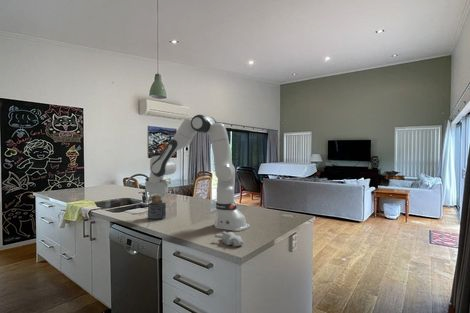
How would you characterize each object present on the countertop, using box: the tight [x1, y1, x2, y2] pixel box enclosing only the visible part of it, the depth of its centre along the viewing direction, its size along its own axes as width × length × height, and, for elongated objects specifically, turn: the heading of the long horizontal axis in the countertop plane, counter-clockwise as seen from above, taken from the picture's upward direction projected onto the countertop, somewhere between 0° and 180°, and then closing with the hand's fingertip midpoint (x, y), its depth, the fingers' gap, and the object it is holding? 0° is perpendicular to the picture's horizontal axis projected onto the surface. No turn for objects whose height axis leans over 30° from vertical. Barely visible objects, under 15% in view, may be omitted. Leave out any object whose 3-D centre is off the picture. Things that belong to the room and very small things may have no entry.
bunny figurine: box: [214, 230, 244, 248], centre depth 135 cm, size 10×5×15 cm
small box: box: [147, 202, 167, 221], centre depth 183 cm, size 11×6×10 cm, turn 84°
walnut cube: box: [151, 194, 163, 204], centre depth 183 cm, size 5×5×5 cm
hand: (156, 199), depth 183 cm, fingers open, 8 cm apart
